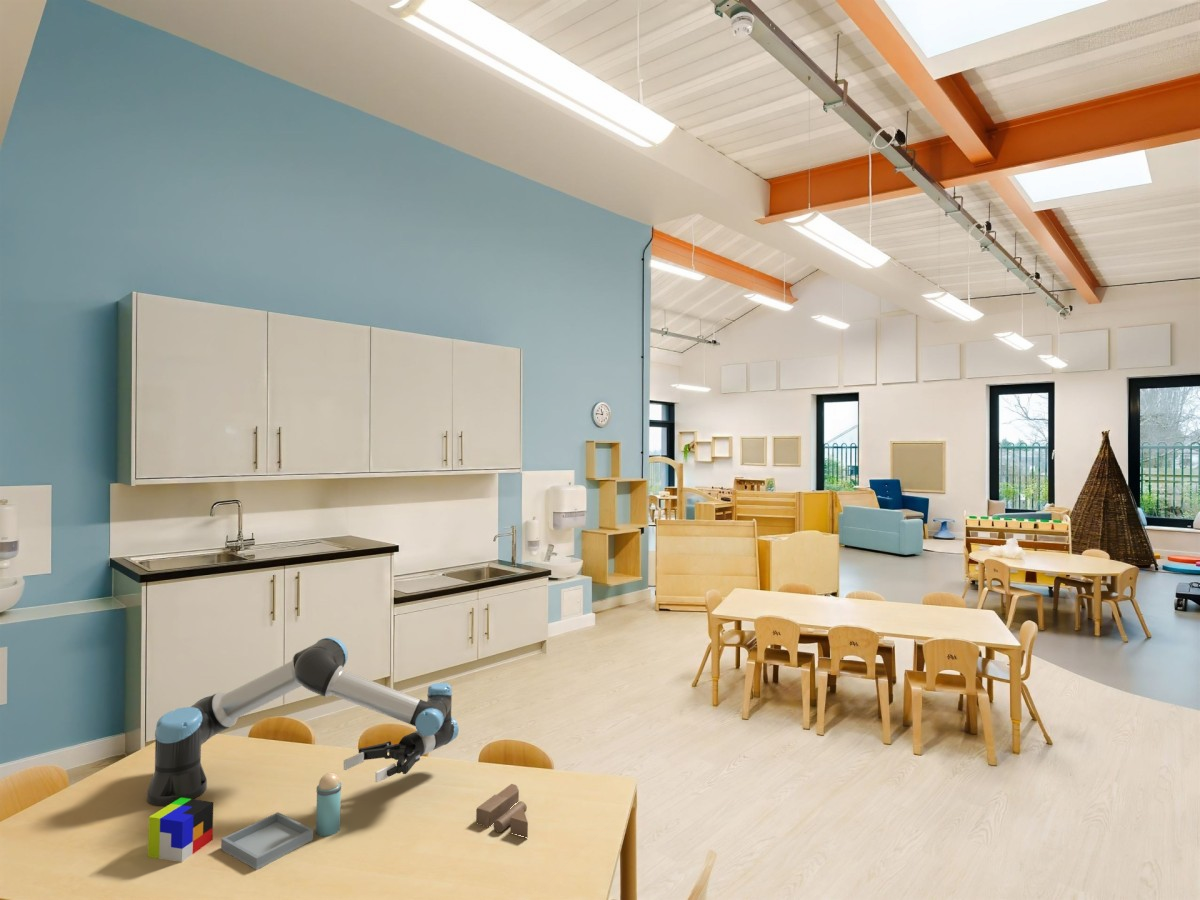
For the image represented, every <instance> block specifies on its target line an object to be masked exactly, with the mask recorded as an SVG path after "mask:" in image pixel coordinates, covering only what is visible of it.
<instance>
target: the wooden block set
mask: <svg viewBox="0 0 1200 900" xmlns="http://www.w3.org/2000/svg"><path fill="white" fill-rule="evenodd" d="M519 798H520V790H519V787H518V786H517V784H514V783H511V784H509V785H508V786H506V787H505V788H504V789H503V790H501V791H500V792H498V793H497V794H493V795H492V796H491V797H489V798H488V799H487V800H486V801H484V802H483V803H482V804H480V805H479V806H478V807H476V815H475V819H476V821H475V823H476V824H477V823H478V824H477V825H479V824H482V825H481V826H483V825H484V826H483V827H486V826H490V827H492V826H493V829H494V831H496V832H497V831H498V832H497V833H502V832H504V831H505V830H506V829H507V828H508V827H510V829H509V830H510V833H513V834H517V835H521V836H524V837H527V838H529V837H528V835H529V833H528V832H529V828H528V827H529V826H528V825H529V824H528V823H529V822H528V819H527V816H526V812H527V804H526V803H525V802H524V801H520V799H519ZM518 801H519V802H518ZM517 802H518V803H517ZM515 803H517V804H516V805H514V804H515ZM513 805H514V806H513ZM512 806H513V807H512ZM511 807H512V808H511ZM510 808H511V809H510ZM493 823H494V824H493ZM492 824H493V825H492ZM491 825H492V826H491ZM513 834H512V835H513Z"/></svg>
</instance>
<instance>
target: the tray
mask: <svg viewBox="0 0 1200 900" xmlns="http://www.w3.org/2000/svg"><path fill="white" fill-rule="evenodd" d="M313 840H314V829H313V828H312V827H309V826H307V825H305V824H303V823H301V822H299V821H297V820H295V819H292V817H288V816H286V815H284V814H283V813H280V812H275V813H273V814H271V815H269V816H266V817H264V818H262V819H261V820H258V821H256V822H254V823H252V824H250V825H247V826H245V827H243V828H242V829H239V830H237V831H235V832H233V833H230V834H228V835H226V836H223V837H222V838H221V841H220V842H221V844H220V850H221V851H223V852H224V853H226V854H228V855H230V856H231V857H233V858H235V859H236V860H238V861H240V862H242V863H244V864H245V865H247V866H249V867H250V868H251V869H252V868H253V869H254V870H256V871H257V870H259V869H261V868H263V867H264V866H265V867H266V866H267V865H268V864H270V863H273V862H274V861H276V860H278V859H280V858H282V857H284V856H286V855H287V854H290V853H291V852H294V851H295V850H297V849H299V848H300V847H302V846H304V845H307V844H308V843H310V842H312V841H313Z"/></svg>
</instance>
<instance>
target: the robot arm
mask: <svg viewBox="0 0 1200 900" xmlns="http://www.w3.org/2000/svg"><path fill="white" fill-rule="evenodd" d="M348 654H349V653H348V650H347V646H346V645H345V643H344V642H343V641H342V640H340V639H339V638H337V637H331V636H328V637H324V638H321V639H318V641H317V642H316V643H313V644H312V645H310V646H308V647H306V648H304V649H303V650H300V651H298V652H296V653H295V654H294V655H293V657H292V660H291V661H289V662H287V663H284V664H283V665H281V666H279V667H277V668H274V669H272V670H270V671H268V672H266V673H265V674H263V675H261V676H259V677H257V678H255V679H253V680H251V681H249V682H247V683H245V684H242V685H240V686H238V687H237V688H235V689H233V690H230V691H229V692H225V691H218V692H216V693H214V694H212V695H208V696H205V697H202V698H201V699H199V700H198V701H196V702H195V703H193V704H192V705H191V706H186V707H181V708H180V707H179V708H176V709H175V710H171V711H168V712H166V713H165V714H163V715H162V716H161V717H159V719H158V721H157V722H156V725H155V733H154V738H155V742H154V745H155V747H154V748H155V749H154V773H153V775H152V778H151V781H150V784H149V786H148V789H147V792H146V802H147V803H149V804H151V805H153V806H165V807H166V806H168V805H169V804H171V803H173V802H174V801H176V800H178V799H179V798H188V799H195V798H199V796H200V795H203V794H204V793H205V791H206V790H207V788H208V787H207V786H208V784H207V783H208V780H207V776H206V774H205V771H204V769H203V765H202V763H201V762H202V761H201V759H202V756H201V755H202V745H203V744H205V743H206V742H207V741H209V739H211V738H213V737H214V736H216V735H217V734H219V733H221V732H223V731H225V730H228V729H229V728H231V727H234V725H236V723H237V721H238V718H241V717H242V716H244V715H246V714H249V713H251V712H252V711H254V710H257V709H259V708H260V707H263V706H264V705H267V704H269V703H270V702H273V701H274V700H277V699H279V698H281V697H282V696H284V695H286V694H289V693H290V692H292V691H294V690H296V689H299V688H301V687H303V688H305V689H306V690H307V691H310V692H312V693H315V694H318V695H320V696H322V697H325V698H329V697H331V696H333V697H337V698H339V699H341V700H344V701H346V702H350V703H352V704H355V705H358V706H359V707H360V706H361V707H362V708H365V709H368V710H371V711H374V712H376V713H378V714H382V715H385V716H387V717H390V718H393V719H395V720H398V721H400V722H403V723H406V724H408V725H411V726H414V727H415V729H416V730H415V731H412V732H411V733H409V734H406V735H404V736H403V737H402V738H401V739H400V741H399V742H398V743H394V744H392V741H391V740H390V741H387V742H384V743H380V744H375V745H374V744H373V745H370V746H365V747H364V746H363V747H360V748H358V753H357V754H355V755H353V756H351V757H347V758H346V759H343V771H348V770H349V769H352V768H354V767H355V766H358V765H359V764H363V763H364V762H365V761H368V760H369V761H370V760H376V759H382V758H383V759H386V760H389V759H392V760H393V759H394V761H396V763H391V764H389V765H387V766H386V767H382V769H381V768H380V769H379V770H377V771H375V778H374V779H375V781H374V782H375V783H380V782H382V781H383V780H385V779H387V778H389V777H391V776H393V775H396V774H401V773H402V775H407V774H408V773H409V772H410V770H411V769H412V767H414V765H415V764H416V763H417V762H419V761H420V759H421V757H422V756H425V755H426V754H428V753H431V752H433V751H434V750H437V749H439V748H441V747H443V746H445V745H448V744H449V743H450V742H453V740H455V739H457V737H458V735H459V733H460V731H459V730H460V727H459V726H458V721H457V720H456V719H455V718H454V717H452V703H453V702H452V697H453V694H452V686H451V685H450V684H449V683H446V682H436V683H432V684H430V685H429V686H428V687H427V695H426V696H427V700H426V701H425V700H422V699H420V698H417V697H415V696H412V695H410V694H407V693H405V692H403V691H399V690H397V689H394V688H392V687H388V686H387V685H384V684H380V683H378V682H375V681H373V680H371V679H368V678H365V677H362V676H359V675H357V674H355V673H352V672H349V671H347V670H344V668H345V665H346V664H347V661H348V656H349V655H348ZM388 753H389V754H388Z"/></svg>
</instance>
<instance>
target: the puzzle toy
mask: <svg viewBox="0 0 1200 900" xmlns="http://www.w3.org/2000/svg"><path fill="white" fill-rule="evenodd" d="M213 827H214V801H208V800H201V799H195V798H194V799H188V798H179V799H178V800H176V801H174V802H173V803H171V804H169V805H165V807H163V808H162V809H161V808H160V810H158V811H156V812H155V813H153V814H151V815H149V817H148V833H147V834H148V841H147V842H148V843H147V844H148V845H147V857H148V858H154V859H160V860H167V861H171V862H172V861H174V862H180V863H183V862H184V861H186V860H187V859H188V858H190V857H191V856H193V855H194V854H195V853H197V852H198V851H199V850H201V849H202V848H204V847H205V846H206V845H208V844H209V843H210V842H212V841H213V835H214V834H213V833H214V832H213V831H214V828H213Z"/></svg>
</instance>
